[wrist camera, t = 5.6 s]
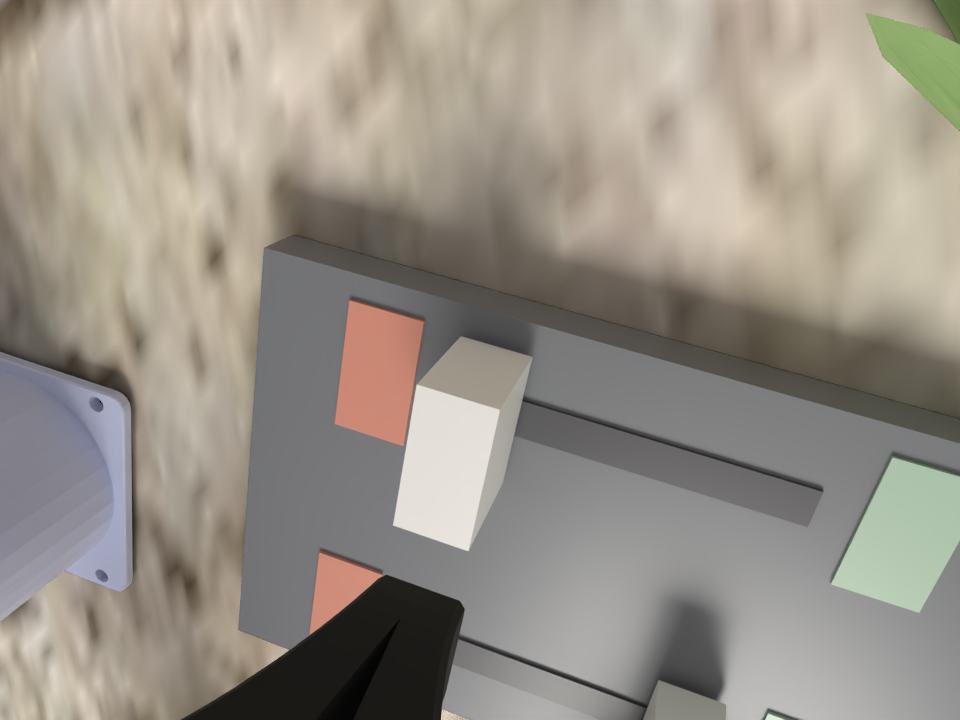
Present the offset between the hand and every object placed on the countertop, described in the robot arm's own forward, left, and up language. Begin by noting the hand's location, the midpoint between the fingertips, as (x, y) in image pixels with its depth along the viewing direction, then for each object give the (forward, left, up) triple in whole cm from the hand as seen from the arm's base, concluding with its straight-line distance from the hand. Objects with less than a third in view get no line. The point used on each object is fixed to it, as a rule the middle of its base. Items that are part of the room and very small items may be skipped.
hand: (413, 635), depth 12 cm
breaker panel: (+3, -4, -9) cm, 11 cm away
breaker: (-1, 0, -8) cm, 8 cm away
